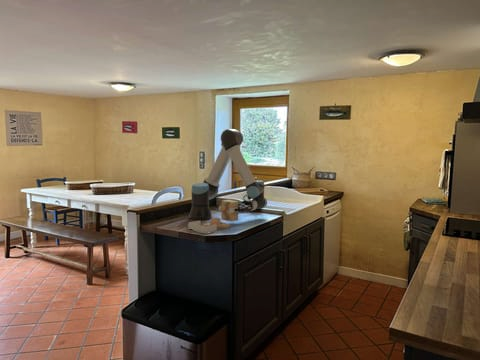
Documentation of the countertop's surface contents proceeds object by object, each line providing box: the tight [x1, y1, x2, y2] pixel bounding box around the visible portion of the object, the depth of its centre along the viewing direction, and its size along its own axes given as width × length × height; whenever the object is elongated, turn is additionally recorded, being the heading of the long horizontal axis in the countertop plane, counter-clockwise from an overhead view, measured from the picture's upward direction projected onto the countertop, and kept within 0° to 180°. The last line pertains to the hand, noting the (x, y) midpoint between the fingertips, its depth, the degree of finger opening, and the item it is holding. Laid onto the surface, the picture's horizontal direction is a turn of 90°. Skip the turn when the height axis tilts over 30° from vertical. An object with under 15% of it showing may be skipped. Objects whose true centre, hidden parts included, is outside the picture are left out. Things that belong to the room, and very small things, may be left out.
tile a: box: [210, 217, 221, 221], centre depth 218 cm, size 4×4×3 cm
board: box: [201, 221, 231, 231], centre depth 215 cm, size 13×12×2 cm
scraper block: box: [220, 199, 239, 222], centre depth 223 cm, size 9×6×12 cm, turn 46°
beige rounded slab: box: [187, 220, 218, 234], centre depth 208 cm, size 15×9×4 cm, turn 46°
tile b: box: [209, 219, 221, 226], centre depth 212 cm, size 4×4×3 cm
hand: (224, 209), depth 220 cm, fingers closed on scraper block, 9 cm apart
